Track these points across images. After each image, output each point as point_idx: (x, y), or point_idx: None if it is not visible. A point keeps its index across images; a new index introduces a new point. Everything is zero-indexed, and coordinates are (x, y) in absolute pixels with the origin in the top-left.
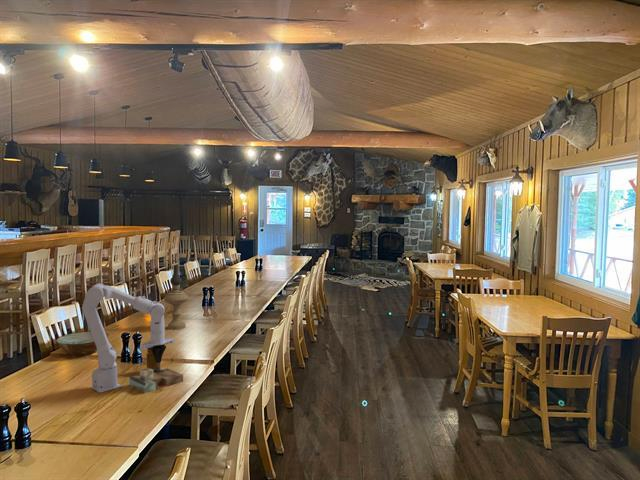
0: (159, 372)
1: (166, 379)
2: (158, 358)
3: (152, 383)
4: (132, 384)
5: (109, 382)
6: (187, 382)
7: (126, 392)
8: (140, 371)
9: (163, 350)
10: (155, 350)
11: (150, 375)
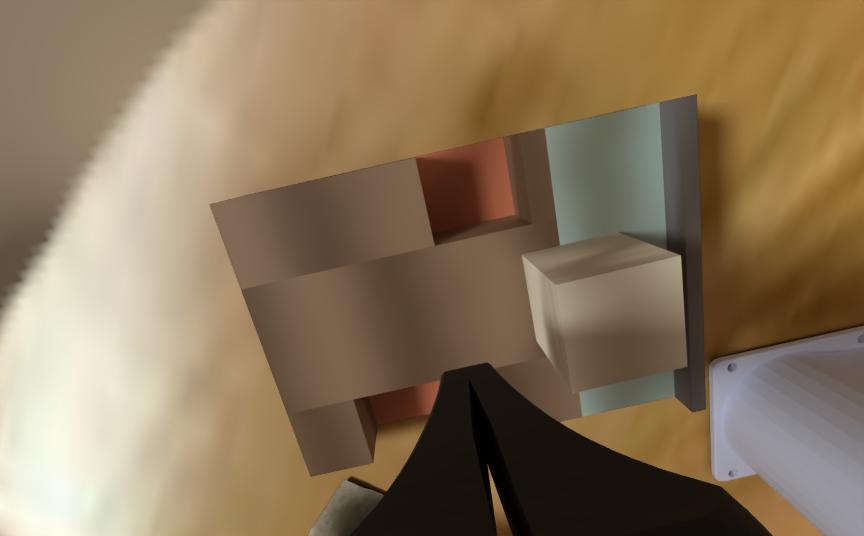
0: (365, 504)
1: (415, 159)
2: (503, 392)
3: (581, 124)
4: None
5: (861, 378)
6: (208, 145)
7: (733, 221)
8: (678, 346)
9: (401, 514)
10: (721, 508)
11: (573, 257)
